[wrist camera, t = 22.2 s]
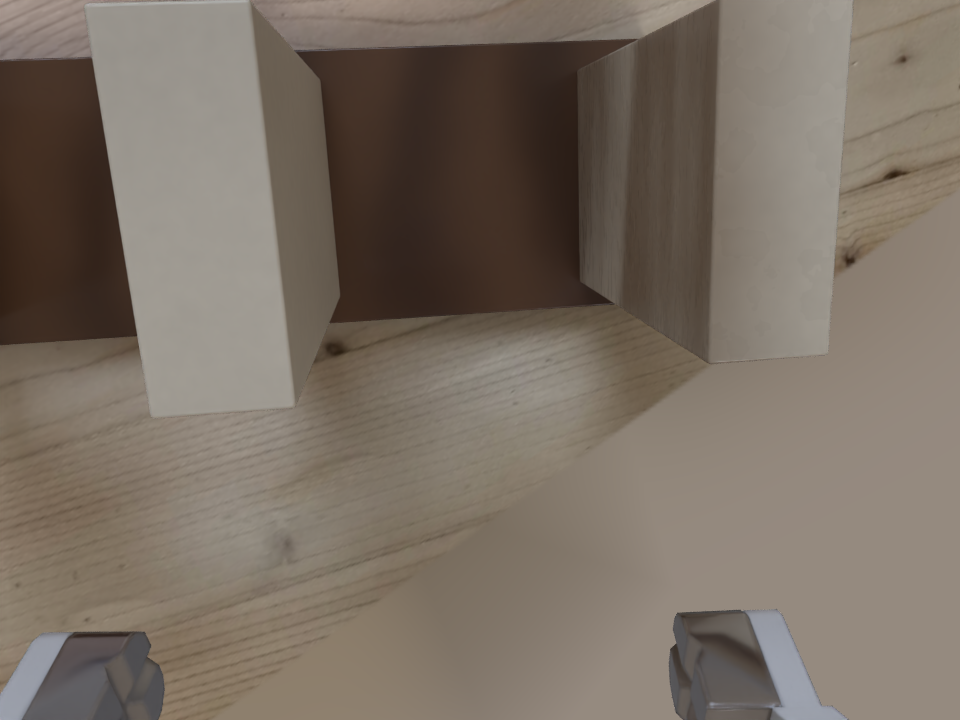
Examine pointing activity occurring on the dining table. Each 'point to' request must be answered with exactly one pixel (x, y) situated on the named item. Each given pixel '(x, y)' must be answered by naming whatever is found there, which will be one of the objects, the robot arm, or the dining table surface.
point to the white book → (217, 200)
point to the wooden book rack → (506, 182)
